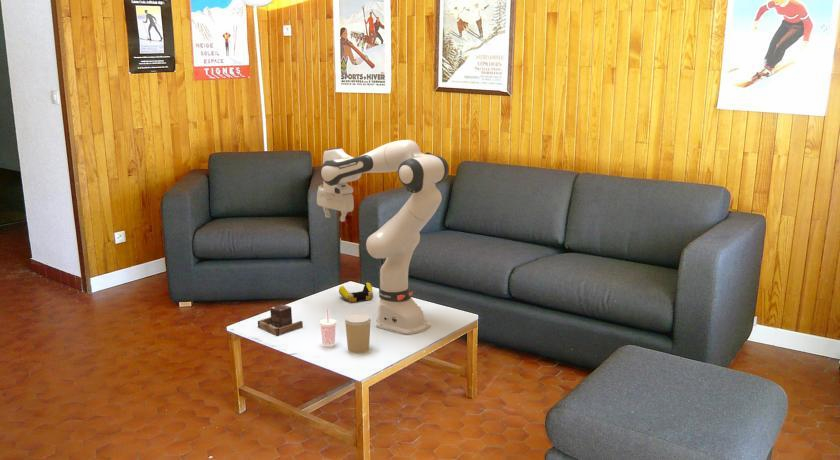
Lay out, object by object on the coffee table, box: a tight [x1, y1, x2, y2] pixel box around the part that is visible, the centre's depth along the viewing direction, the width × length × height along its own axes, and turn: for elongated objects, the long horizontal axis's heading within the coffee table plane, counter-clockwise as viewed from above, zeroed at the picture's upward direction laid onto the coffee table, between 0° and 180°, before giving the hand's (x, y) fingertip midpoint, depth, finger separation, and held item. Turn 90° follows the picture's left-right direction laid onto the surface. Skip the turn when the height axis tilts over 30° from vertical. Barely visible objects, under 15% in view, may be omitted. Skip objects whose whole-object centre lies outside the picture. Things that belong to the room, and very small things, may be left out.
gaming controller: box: [338, 282, 374, 303], centre depth 321 cm, size 15×6×10 cm
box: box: [269, 303, 293, 328], centre depth 290 cm, size 6×6×7 cm
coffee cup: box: [344, 313, 372, 354], centre depth 267 cm, size 9×9×12 cm
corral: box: [257, 316, 303, 336], centre depth 288 cm, size 13×12×2 cm
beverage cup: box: [319, 308, 337, 348], centre depth 270 cm, size 6×6×14 cm
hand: (335, 219), depth 306 cm, fingers open, 8 cm apart
